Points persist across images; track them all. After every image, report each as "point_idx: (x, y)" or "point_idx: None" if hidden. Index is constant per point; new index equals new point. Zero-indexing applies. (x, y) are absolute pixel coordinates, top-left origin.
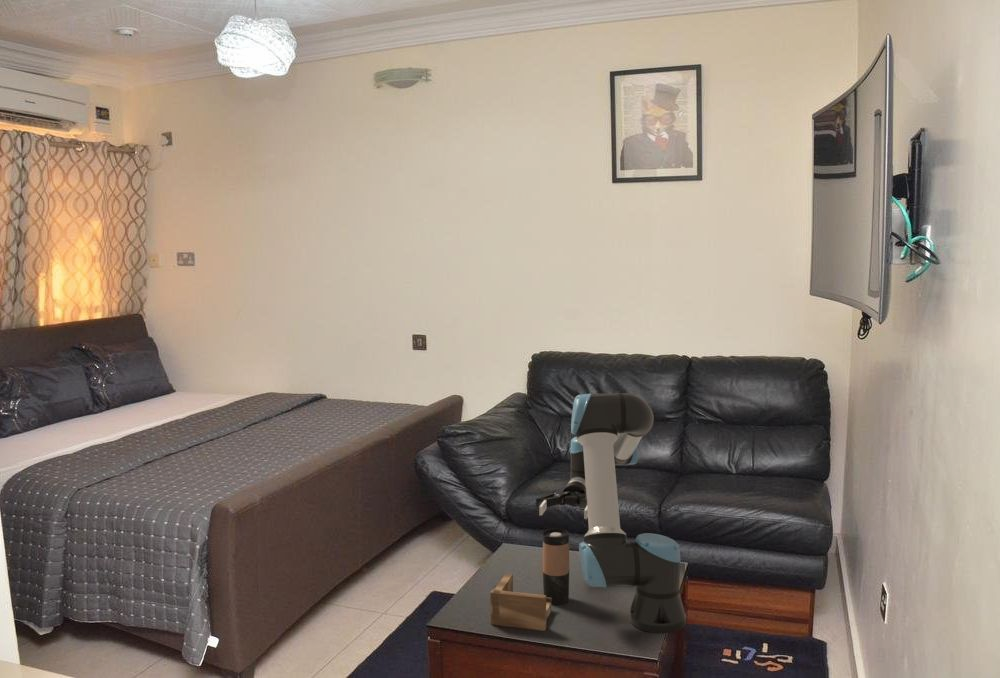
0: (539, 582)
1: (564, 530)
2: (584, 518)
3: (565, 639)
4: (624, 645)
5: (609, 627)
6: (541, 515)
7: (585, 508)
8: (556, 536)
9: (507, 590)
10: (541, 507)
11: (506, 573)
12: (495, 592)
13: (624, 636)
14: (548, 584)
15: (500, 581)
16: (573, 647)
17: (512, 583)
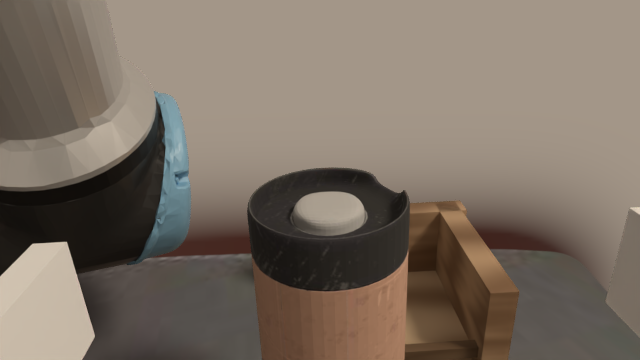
0: None
1: (285, 235)
2: (88, 332)
3: (250, 271)
4: (106, 283)
5: (128, 342)
6: (609, 301)
7: (22, 285)
8: (315, 193)
9: (459, 273)
10: (630, 215)
11: (516, 290)
12: (447, 203)
13: (95, 314)
14: None
15: (485, 244)
16: (228, 254)
17: (483, 318)
